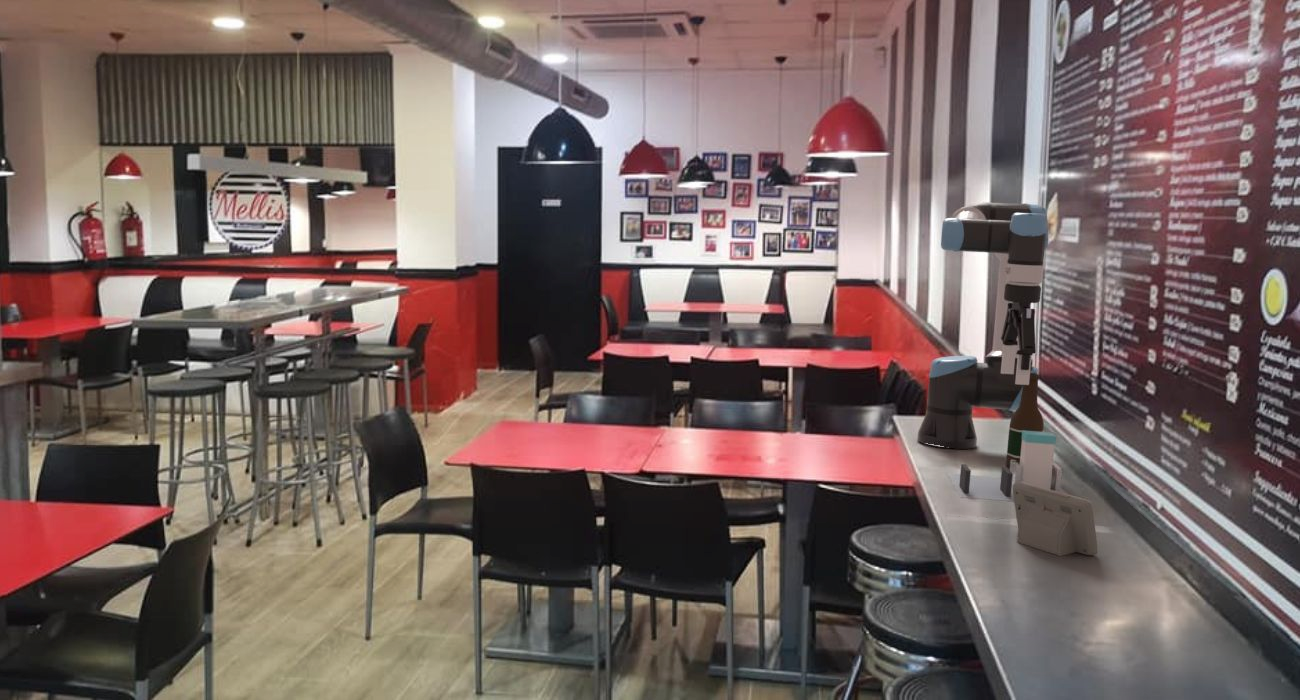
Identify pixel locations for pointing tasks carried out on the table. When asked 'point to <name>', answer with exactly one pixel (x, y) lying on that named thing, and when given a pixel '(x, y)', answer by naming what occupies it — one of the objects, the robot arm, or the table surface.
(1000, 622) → the table surface
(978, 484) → the panel
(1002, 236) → the robot arm
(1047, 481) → the white and teal box
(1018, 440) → the beer bottle
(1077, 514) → the digital clock
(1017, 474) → the port
